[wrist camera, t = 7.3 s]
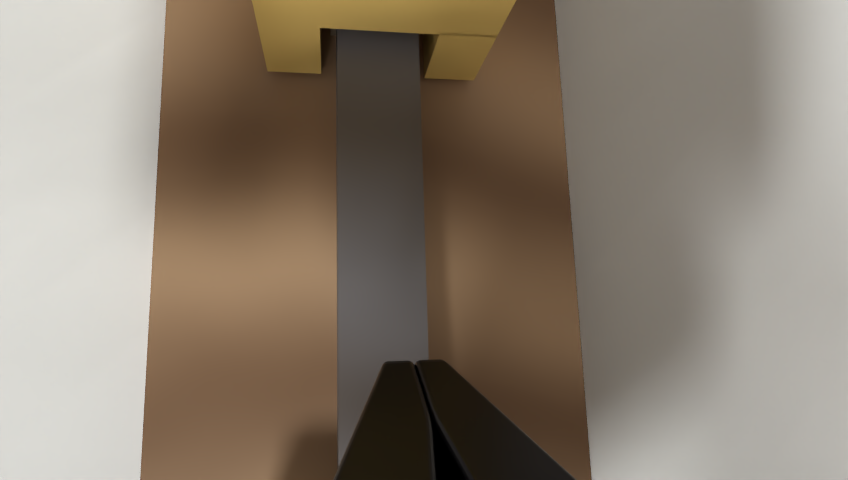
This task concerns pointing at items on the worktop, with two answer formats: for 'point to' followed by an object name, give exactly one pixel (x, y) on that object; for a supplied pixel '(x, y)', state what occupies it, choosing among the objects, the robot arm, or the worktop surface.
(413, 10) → the yellow rectangular block
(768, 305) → the worktop surface
